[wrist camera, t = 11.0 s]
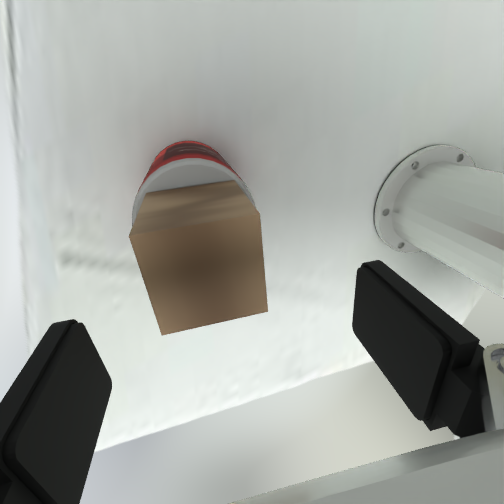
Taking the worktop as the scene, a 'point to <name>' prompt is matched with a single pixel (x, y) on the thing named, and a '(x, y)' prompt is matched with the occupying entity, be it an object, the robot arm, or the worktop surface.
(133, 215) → the canned food
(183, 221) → the walnut block
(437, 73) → the worktop surface
